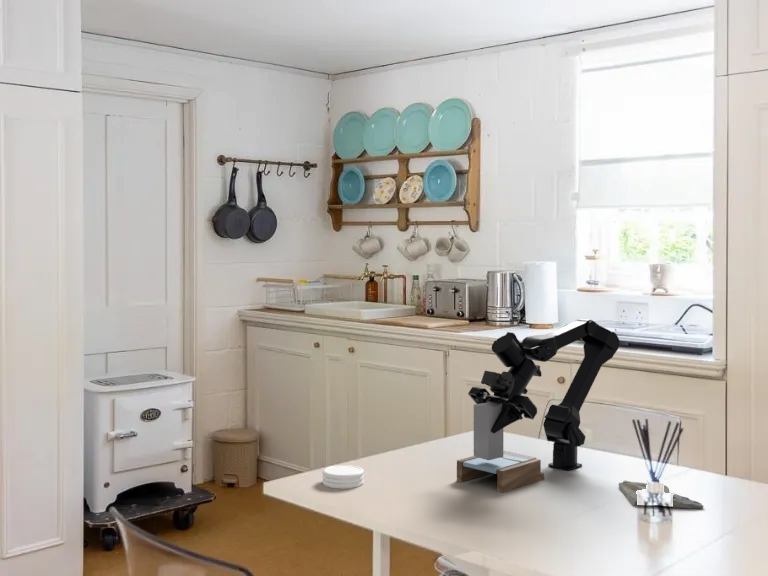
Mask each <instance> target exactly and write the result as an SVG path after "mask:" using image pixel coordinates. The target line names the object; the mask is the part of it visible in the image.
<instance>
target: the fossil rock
mask: <svg viewBox="0 0 768 576" xmlns="http://www.w3.org/2000/svg"><path fill="white" fill-rule="evenodd" d="M646 485H647V482H646V483H645V482H638V481H637V482H636V481H628V480H623V482H619V483H618V489H619V491H620V492H621V493H622V494H624V495H625V498H626V500H627V501H628V502H629V504H631V505H632V506H637V494H636V491H637V490H642V489H646ZM663 485H664V484H663ZM664 492H665V493H671V492H670V488H669V487H668V486H667V485H664ZM673 494H674V495H673V509H675V508H676V509H678V508H679V509H699V510H702V509H704V505H703V504H702V503H701V502H699V501H696V500H693V499H690V498H688V497H687V496H686V497H685V496H682V495H679V494H676V493H673Z"/></svg>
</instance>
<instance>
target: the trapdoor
mask: <svg viewBox="0 0 768 576" xmlns="http://www.w3.org/2000/svg"><path fill="white" fill-rule="evenodd" d="M533 459H537V457H535V456H530V455H528V454H527V455H525V454H521V453H517V452H513V451H512V452H511V451H506V450H503V457H501V458H496V459H492V460H485V459H482V458H476V459H472V460H468V461H465V462H463V466H465V467H469V468H474V469H478V470H482V471H486V472H490V474H495V475H497V472H498V470H499V469H503V468H506V467H509V466H513V465H516V464H520V463H523V462H526V461H530V460H533Z"/></svg>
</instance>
